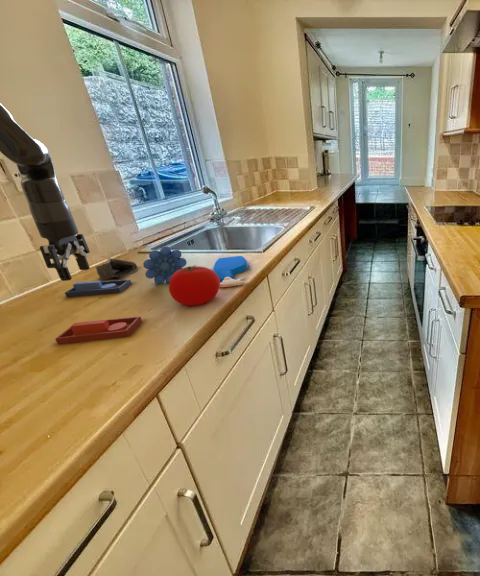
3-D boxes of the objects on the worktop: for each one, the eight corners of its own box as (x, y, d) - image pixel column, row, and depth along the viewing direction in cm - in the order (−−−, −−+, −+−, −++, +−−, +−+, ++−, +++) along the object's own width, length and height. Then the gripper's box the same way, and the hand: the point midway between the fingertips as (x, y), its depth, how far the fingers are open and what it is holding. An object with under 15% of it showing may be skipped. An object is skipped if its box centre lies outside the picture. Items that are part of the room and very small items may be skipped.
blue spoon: (119, 286, 98) (116, 278, 97) (113, 291, 95) (109, 282, 94) (81, 289, 96) (78, 281, 95) (74, 294, 93) (70, 285, 92)
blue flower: (192, 275, 107) (183, 241, 102) (191, 283, 101) (181, 246, 97) (151, 281, 103) (140, 245, 98) (147, 289, 97) (135, 251, 92)
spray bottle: (213, 258, 115) (209, 283, 94) (246, 254, 118) (248, 278, 98) (215, 266, 116) (211, 292, 95) (247, 262, 120) (250, 286, 99)
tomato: (178, 297, 92) (168, 263, 87) (224, 291, 96) (217, 257, 91) (170, 314, 82) (158, 277, 78) (221, 307, 86) (213, 270, 82)
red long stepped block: (131, 325, 76) (127, 315, 75) (123, 333, 73) (119, 323, 72) (82, 331, 74) (77, 320, 73) (72, 339, 71) (67, 328, 70)
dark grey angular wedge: (118, 270, 113) (86, 255, 102) (138, 263, 114) (107, 248, 102) (119, 294, 110) (86, 281, 99) (139, 287, 110) (108, 274, 99)
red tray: (58, 346, 69) (54, 338, 68) (78, 330, 75) (75, 322, 75) (129, 338, 72) (126, 330, 71) (143, 323, 78) (140, 316, 77)
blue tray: (67, 299, 91) (64, 292, 90) (82, 289, 97) (79, 283, 97) (121, 294, 94) (118, 288, 93) (132, 285, 100) (130, 279, 99)
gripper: (55, 214, 91) (76, 267, 97) (15, 224, 78) (43, 285, 84) (86, 213, 92) (105, 265, 99) (52, 223, 80) (76, 282, 86)
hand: (76, 274), depth 91 cm, fingers open, 8 cm apart
